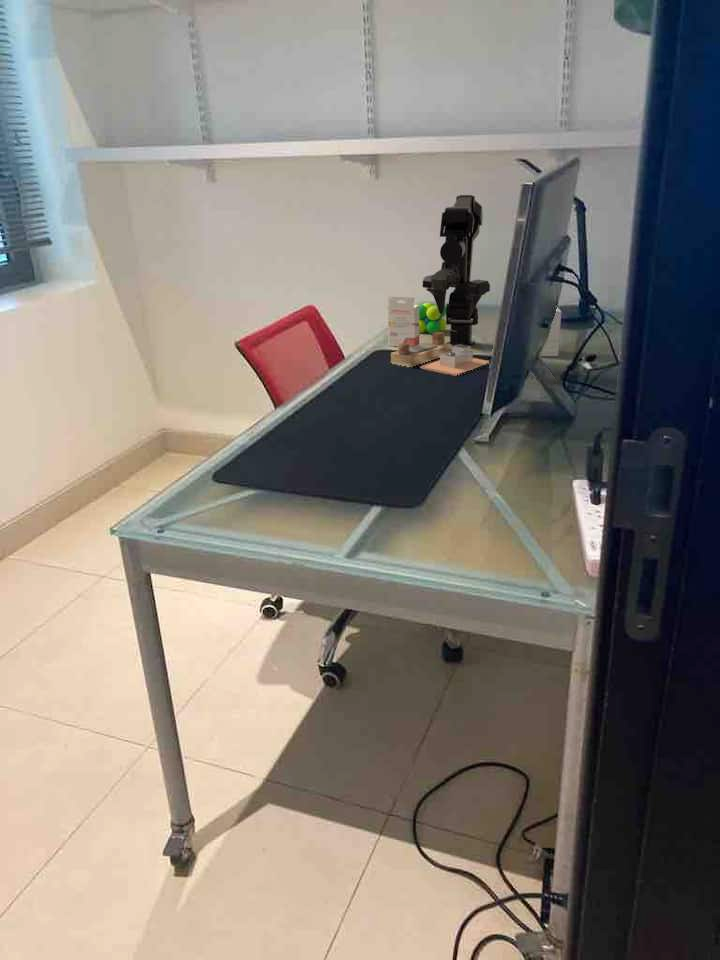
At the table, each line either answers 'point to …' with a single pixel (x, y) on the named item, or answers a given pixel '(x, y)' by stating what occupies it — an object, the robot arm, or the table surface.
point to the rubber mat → (454, 371)
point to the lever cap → (457, 356)
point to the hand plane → (421, 351)
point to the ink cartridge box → (403, 321)
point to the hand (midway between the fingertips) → (454, 316)
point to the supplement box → (553, 336)
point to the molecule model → (431, 318)
